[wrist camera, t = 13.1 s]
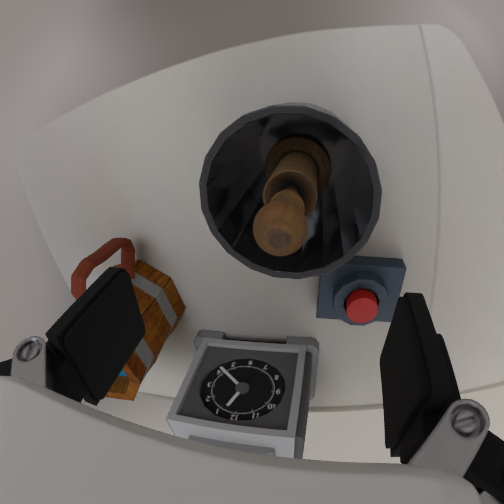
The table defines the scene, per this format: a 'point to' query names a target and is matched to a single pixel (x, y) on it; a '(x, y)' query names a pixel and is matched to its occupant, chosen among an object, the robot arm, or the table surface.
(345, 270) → the housing
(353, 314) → the button
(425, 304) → the robot arm
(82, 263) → the mug
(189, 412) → the alarm clock
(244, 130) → the grey open cylinder
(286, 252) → the mortar and pestle
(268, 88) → the table surface
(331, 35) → the table surface
